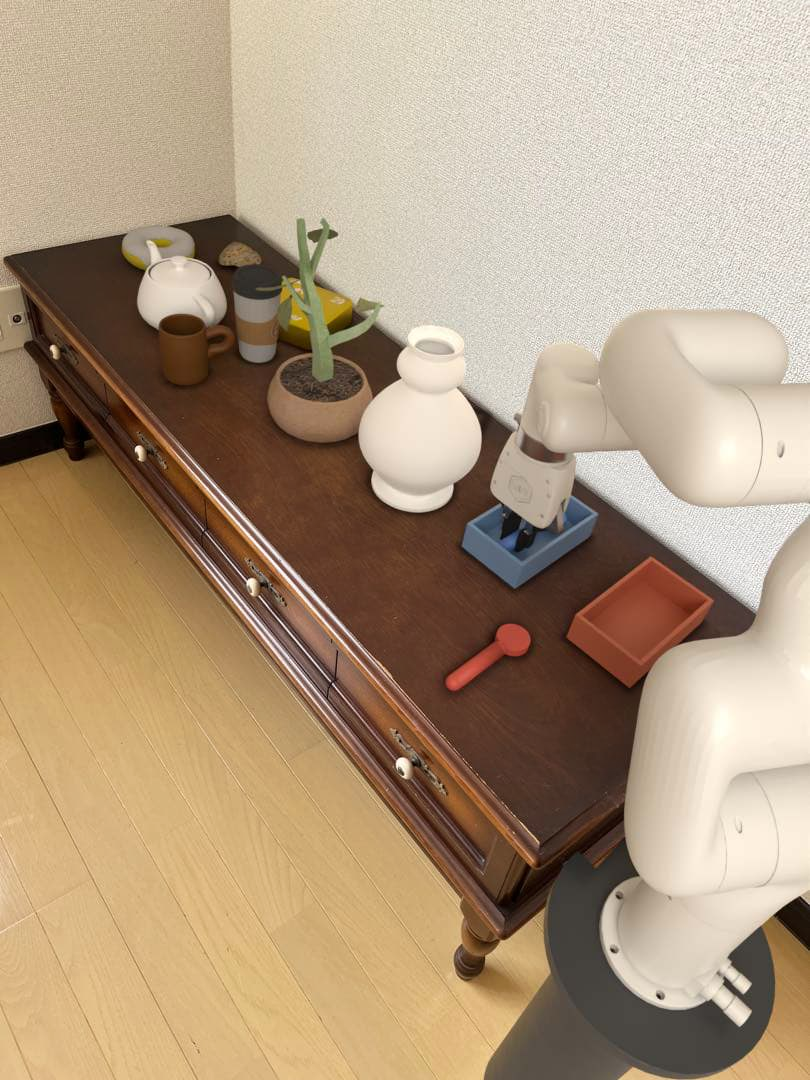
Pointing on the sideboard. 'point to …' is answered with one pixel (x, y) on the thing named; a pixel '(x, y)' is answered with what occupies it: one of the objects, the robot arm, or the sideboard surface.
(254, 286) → the coffee cup
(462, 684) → the red spoon
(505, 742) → the sideboard surface
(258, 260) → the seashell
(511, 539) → the blue spoon
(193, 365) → the mug
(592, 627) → the red bin
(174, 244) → the donut
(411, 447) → the decorative vase
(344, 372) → the potted plant
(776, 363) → the robot arm
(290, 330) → the element tile
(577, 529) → the blue bin
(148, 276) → the teapot
